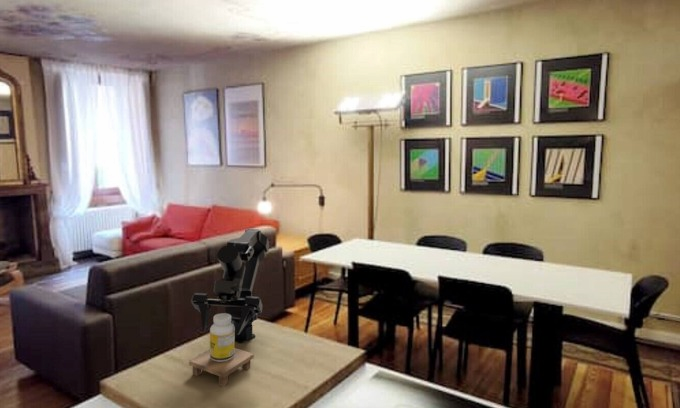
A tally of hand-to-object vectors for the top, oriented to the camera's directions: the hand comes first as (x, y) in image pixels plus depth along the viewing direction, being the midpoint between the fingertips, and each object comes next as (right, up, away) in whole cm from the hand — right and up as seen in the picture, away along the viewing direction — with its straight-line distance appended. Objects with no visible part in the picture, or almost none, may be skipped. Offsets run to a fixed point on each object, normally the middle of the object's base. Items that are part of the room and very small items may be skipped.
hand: (220, 333), depth 119 cm
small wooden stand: (0, -11, +3) cm, 12 cm away
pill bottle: (0, -7, +3) cm, 8 cm away
